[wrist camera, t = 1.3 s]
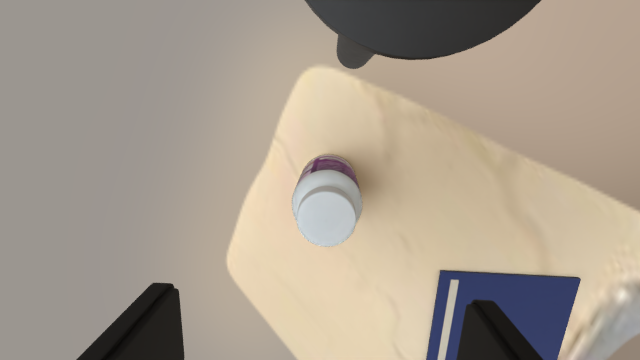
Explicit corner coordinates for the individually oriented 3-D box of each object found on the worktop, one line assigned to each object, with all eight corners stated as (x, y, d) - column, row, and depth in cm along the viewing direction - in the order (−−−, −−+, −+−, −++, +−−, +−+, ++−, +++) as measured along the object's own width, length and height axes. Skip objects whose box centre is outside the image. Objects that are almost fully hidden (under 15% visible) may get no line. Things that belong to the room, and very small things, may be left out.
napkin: (440, 270, 31) (441, 272, 31) (578, 277, 31) (581, 279, 31) (423, 378, 35) (424, 381, 35) (547, 385, 35) (549, 388, 34)
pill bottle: (302, 150, 29) (288, 176, 19) (358, 156, 29) (372, 184, 19) (298, 204, 30) (283, 252, 21) (351, 209, 30) (361, 260, 21)
